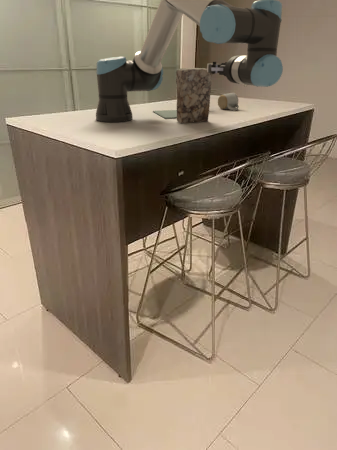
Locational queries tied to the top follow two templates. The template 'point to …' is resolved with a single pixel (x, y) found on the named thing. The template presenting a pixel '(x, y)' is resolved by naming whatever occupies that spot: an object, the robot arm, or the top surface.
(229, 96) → the ceramic mug
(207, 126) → the top surface
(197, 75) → the stone block
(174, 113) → the rubber mat
